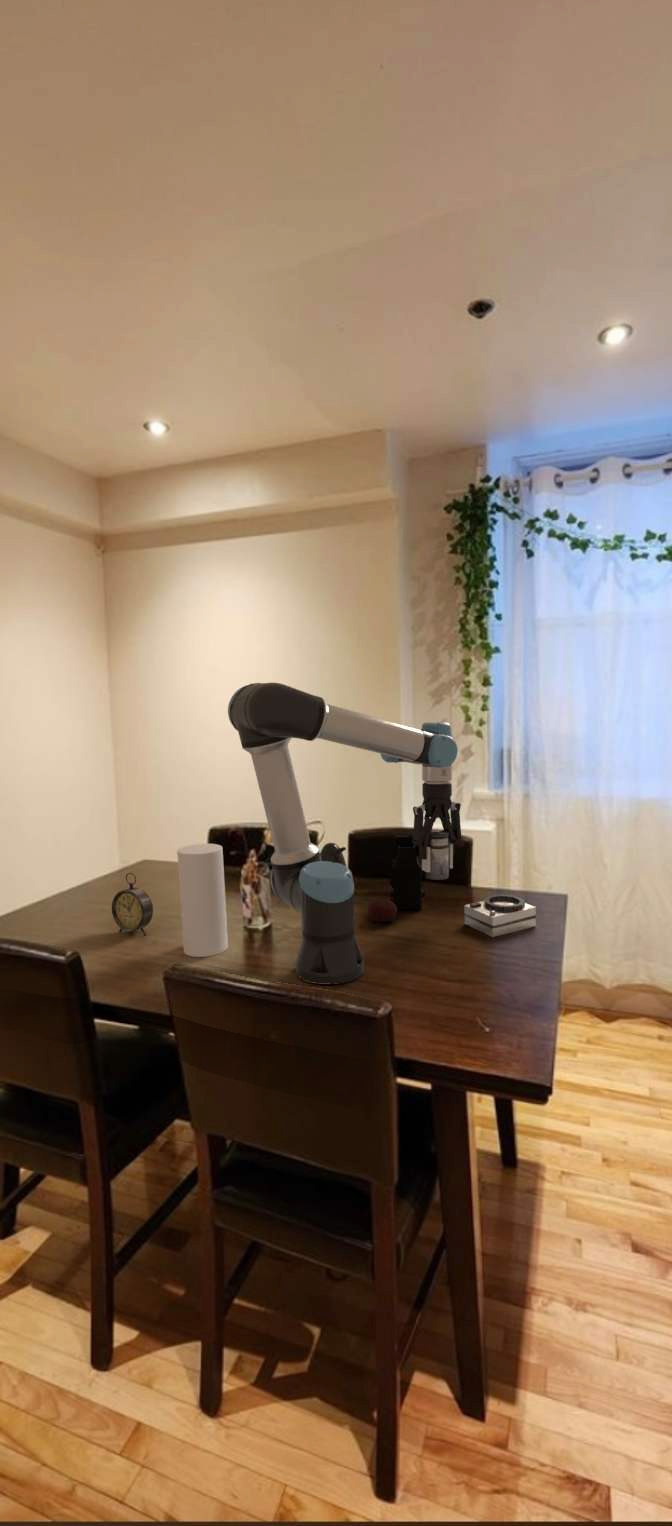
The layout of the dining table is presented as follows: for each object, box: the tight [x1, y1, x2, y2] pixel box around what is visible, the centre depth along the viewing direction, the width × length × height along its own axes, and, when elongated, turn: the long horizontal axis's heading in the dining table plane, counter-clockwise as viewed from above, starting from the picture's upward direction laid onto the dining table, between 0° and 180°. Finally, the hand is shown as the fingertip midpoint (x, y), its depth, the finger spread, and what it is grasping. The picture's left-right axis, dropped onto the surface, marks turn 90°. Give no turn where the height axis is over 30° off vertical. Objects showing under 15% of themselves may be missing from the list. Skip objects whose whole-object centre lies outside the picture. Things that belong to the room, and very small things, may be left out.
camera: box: [389, 834, 426, 910], centre depth 193 cm, size 10×14×20 cm
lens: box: [424, 828, 450, 881], centre depth 176 cm, size 6×6×12 cm
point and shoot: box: [463, 894, 537, 938], centre depth 173 cm, size 14×11×6 cm
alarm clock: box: [111, 872, 154, 937], centre depth 177 cm, size 11×5×16 cm, turn 64°
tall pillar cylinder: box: [176, 843, 229, 958], centre depth 164 cm, size 11×11×25 cm
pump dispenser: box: [319, 842, 348, 868], centre depth 207 cm, size 10×10×15 cm
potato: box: [367, 898, 398, 923], centre depth 179 cm, size 7×8×6 cm
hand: (437, 869), depth 177 cm, fingers closed on lens, 6 cm apart
